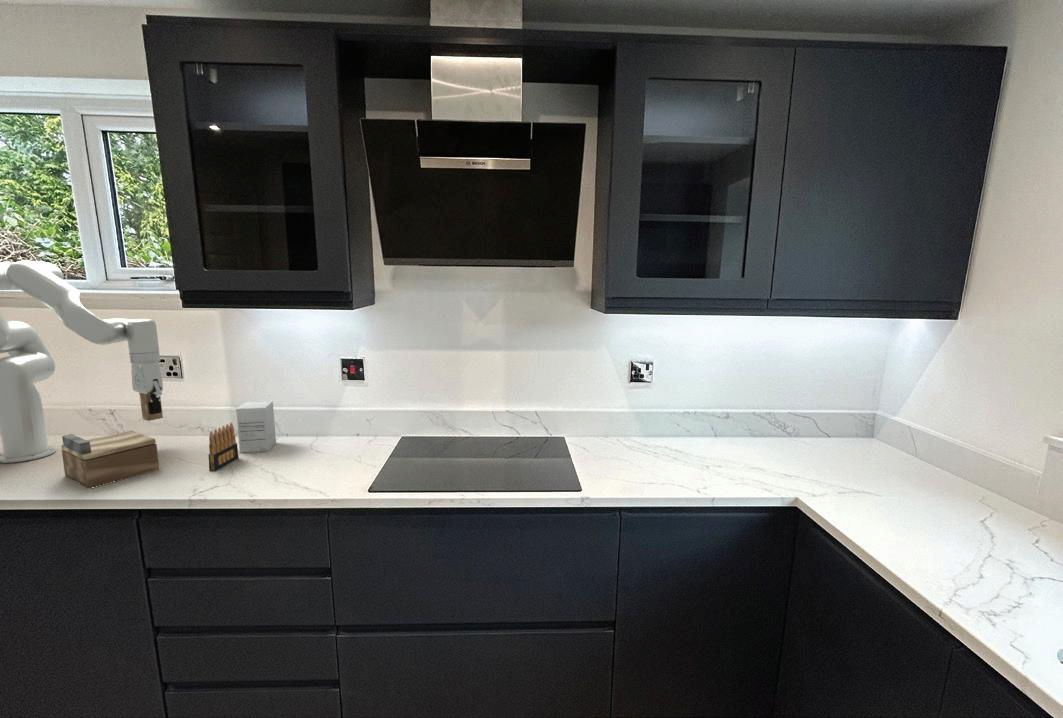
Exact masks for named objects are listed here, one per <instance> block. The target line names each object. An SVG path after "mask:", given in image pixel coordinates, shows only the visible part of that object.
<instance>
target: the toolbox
mask: <svg viewBox="0 0 1063 718" xmlns="http://www.w3.org/2000/svg"><path fill="white" fill-rule="evenodd" d="M157 445H158V444H157V443H154V444H150V445H146V446H142V447H137V448H133V449H129V450H125V451H121V452H116V453H112V454H108V455H104V456H100V457H96V458H91V459H87V460H83V459H81V458H79V457H77V456H75V455H73V454H70V453H68V452H66V451H64V450H62V449H61V456H62V463H63V471H64V475H65V478H67V479H69V478H70V480H71V479H72V480H71V481H73V480H74V482H75V481H76V482H75V483H77V482H78V483H77V484H79V483H80V484H79V485H81V486H82V485H83V486H82V487H84V486H85V487H84V488H86V487H87V488H86V489H88V488H91V489H93V488H92V487H95V488H97V487H96V486H98V487H100V486H99V485H102V486H104V485H103V484H105V485H107V484H106V483H109V484H111V483H110V482H112V483H114V482H113V481H116V482H119V481H122V480H121V479H123V480H126V479H125V478H127V479H130V478H133V476H134V477H137V476H140V474H141V475H144V474H147V473H151V472H155V471H157V470H160V463H159V456H158V455H159V454H158V447H157ZM136 475H137V476H136ZM129 477H130V478H129ZM118 480H119V481H118Z"/></svg>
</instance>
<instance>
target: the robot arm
mask: <svg viewBox="0 0 1063 718" xmlns="http://www.w3.org/2000/svg"><path fill="white" fill-rule="evenodd" d="M20 290H21V291H22V292H24V293H26V294H27V295H28V296H31V297H32V298H34V299H35V300H36V301H39V302H40V303H42V304H43V305H45V306H46V307H47V308H50V310H52V311H53V312H54V313H55V315H56V316H57V318H58V319H59V320H60V321H61V322H62V324H63V325H64V326H65V327H66V328H68V329H69V330H70V331H72V332H73V333H74V334H76V335H78V336H79V337H82V338H83V339H84V340H86V341H88V342H91V343H93V344H96V345H99V346H100V345H101V346H106V345H111V344H115V343H121V342H126V341H127V346H128V347H127V348H128V352H129V353H128V354H129V359H130V360H129V361H130V364H131V366H130V367H131V368H130V369H131V371H130V372H131V384H132V385H131V386H132V387H131V388H132V390H133V391H134V392H136V393H138V395H140V393H143V394H148V398H149V402H148V407H149V414H156V413H161V412H162V413H163V410H162V411H161V406H162V400H161V399H160V397H161V396H162V395H163V392H162V391H163V390H164V384H163V376H162V372H161V371H162V370H161V367H160V363H159V362H161V354H160V353H161V352H160V347H159V337H158V330H157V323H156V321H155V320H154V319H149V318H136V319H134V318H133V319H128V318H115V317H114V318H108V319H107V318H106V319H101V318H100V317H98V316H97V315H95V314H94V313H93V312H91V311H90V310H88V309H86V307H84V306H83V304H82V303H81V301H80V300H81V298H82V293H81V292H80V290H79V289H77V288H75V286H72V285H70V284H69V283H67V282H66V281H64V274H63V272H62V270H61V269H60V268H59V267H58V266H57V265H55V264H52V263H50V262H46V261H37V260H35V261H34V260H20V261H16V262H15V261H14V262H2V261H1V262H0V291H20ZM6 353H8V355H9V356H4V357H0V439H1V444H2V450H3V451H2V452H3V453H1V454H0V463H4V464H5V463H6V464H8V463H21V462H26V461H27V462H28V461H33V460H37V459H42V458H45V457H47V456H50V455H52V454H54V453H55V452H56V451H57V449H56V447H55V446H53V445H49V444H48V443H49V442H48V437H47V430H46V424H45V422H46V421H45V416H44V411H43V410H44V409H43V403H42V398H41V394H40V392H39V391H38V389H37V388H36V386H35V384H36V383H38V382H41V381H45V380H47V379H49V378H50V377H51V376H52V375H53V374H54V373H55V370H56V364H55V360H54V359H53V356H52V354H51V353H50V351H49V350H48V348H47V347H46V345H45V343H44V341H43V340H42V339H41V336H40V335H39V333H38V332H37V331H36V330H35V329H34V327H32V326H31V325H29V324H28V323H26V322H23V321H20V320H15V319H14V320H6V319H5V318H4V317H3V315H2V314H1V313H0V354H6ZM34 383H35V384H34ZM152 390H154V391H155V392H151V391H152ZM150 392H151V393H150ZM151 394H154V395H153V396H152V395H151ZM160 401H161V403H160Z"/></svg>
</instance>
